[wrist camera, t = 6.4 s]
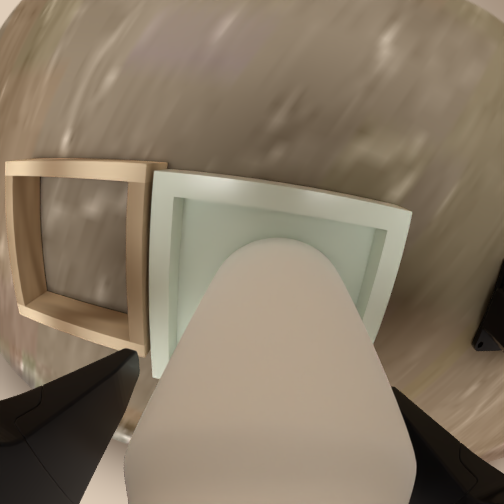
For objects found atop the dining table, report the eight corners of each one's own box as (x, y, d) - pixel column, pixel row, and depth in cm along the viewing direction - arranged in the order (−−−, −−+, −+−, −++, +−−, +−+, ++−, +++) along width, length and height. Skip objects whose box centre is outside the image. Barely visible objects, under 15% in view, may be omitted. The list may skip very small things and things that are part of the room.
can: (193, 320, 15) (92, 531, 4) (246, 210, 13) (107, 440, 2) (300, 367, 16) (308, 580, 4) (366, 272, 14) (496, 495, 2)
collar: (167, 162, 14) (146, 163, 11) (160, 333, 17) (144, 357, 14) (33, 158, 14) (5, 161, 12) (41, 298, 17) (19, 313, 15)
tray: (395, 204, 13) (412, 211, 11) (341, 382, 17) (346, 406, 15) (170, 168, 14) (153, 170, 12) (164, 356, 17) (152, 377, 15)
